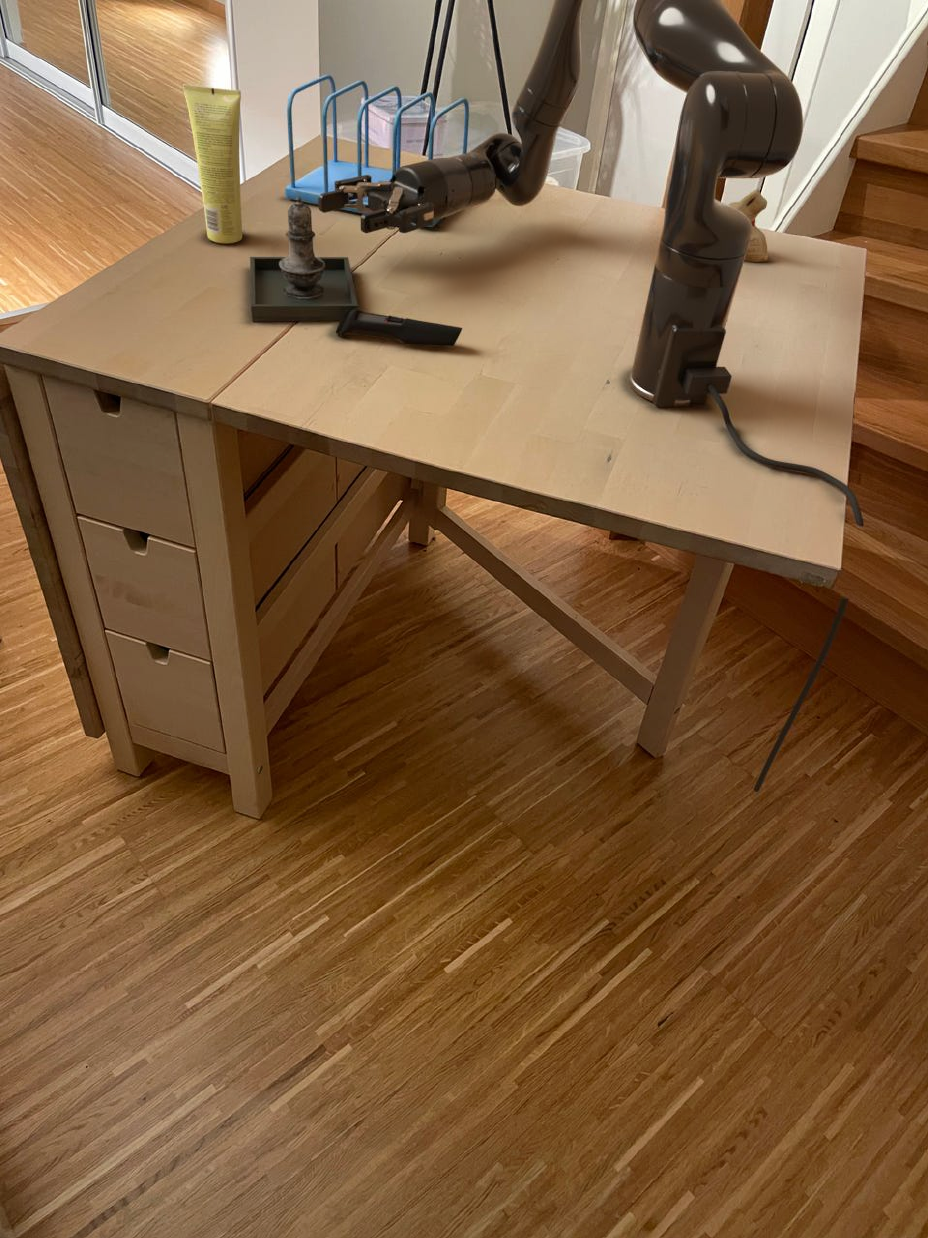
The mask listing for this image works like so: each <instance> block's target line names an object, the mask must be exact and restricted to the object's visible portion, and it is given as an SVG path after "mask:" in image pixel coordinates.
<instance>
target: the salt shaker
mask: <svg viewBox="0 0 928 1238" xmlns="http://www.w3.org/2000/svg"><path fill="white" fill-rule="evenodd" d="M301 200H302V199H301V197H300V196H298V197H297V199H296V200H295V201H296V202H294V203H292V204H291V205H289V207H288V209H287V217H288V218H287V219H288V220H287V221H288V230H287V231H286V232H285V235H286V237H287V238H288V249H289V250H288V255H287V256H284V257H285V258H283V259H282V260H281V261H280V262H279V266H280V268H281V269H282V273H283V275H284V277H285V279H286V280H287V281H288V282H289V283H288V284H287V285H285V287H284V288H283V292H284V294H285V295H287V296H289V297H291V298H295V299H313V298H317V297H319V296H321V295H322V294H323V291H324V290H323V288H322V287H321V286H320V285H319V284H317V282H318V281H319V280H320V279H321V276H322V273H323V269H324V268H325V263H324V261H323V260H321V259H320V258H318V257H319V256H316V255H315V250H314V238H315V237H316V232H314V231H313V222H312V221H313V220H312V209H311V207H310V206H309V205H308V204H306V203H305V202H303V201H301Z"/></svg>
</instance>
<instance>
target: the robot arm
mask: <svg viewBox="0 0 928 1238" xmlns="http://www.w3.org/2000/svg"><path fill="white" fill-rule="evenodd" d="M584 2H585V0H554V1H553V4H552V6H551V11H550V14H549V17H548V20H547V23H546V27H545V30H544V34H543V36H542V40H541V42H540V45H539V48H538V50H537V53H536V56H535V58H534V60H533V63H532V66H531V68H530V69H529V72H528V74H527V76H526V79H525V81H524V83H523V85H522V88H521V90H520V92H519V94H518V96H517V98H516V100H515V103H514V106H513V109H512V111H511V122H512V124H513V126H514V128H515V131H517V134H518V135H519V139H520V140H521V141H520V140H519V139H518V138H516V136H514V135H512V134H510V133H506V132H497V133H493V134H492V135H490V136H489V137H488V138H486V139H485V140H484V141H483V142H482V143H479V145H477V146H476V147H474V148H472V149H471V150H470V151H467V153H466V154H463V153H462V154H458V155H454V156H449V157H448V156H447V157H437V158H433V159H431V160H428V159H427V160H423V161H419V162H415V163H411V164H406V165H402V166H400V168H399V169H397V168H396V169H397V170H396V171H395V173H394V174H393V176H392V178H391V179H390V181H379V182H378V183H372V177H371V176H370V175H364V176H359V177H354V178H349V179H344V180H339V181H335V191H331V192H327V193H323V194H320V195H319V197H318V202H319V205H318V210H319V212H321V213H323V214H325V213H329V212H334V211H338V210H342V209H341V208H345V207H347V208H357V209H358V211H360V212H369V213H366V214H363V213H362V214H361V216H360V231H361V232H362V233H364V234H370V233H373V232H377V231H380V230H383V229H386V230H389V231H393V230H396V228H397V229H398V233H401V234H408V233H410V232H414V231H416V230H419V229H422V228H425V227H427V226H428V225H431V224H433V220H436V219H440V218H442V219H443V218H446V217H450V216H453V215H454V214H456V213H459V212H460V211H464V210H467V209H468V210H469V209H472V208H474V207H478V206H480V205H483V204H485V203H488V201H490V200H491V199H492V198H493V196H494V194H495V192H496V191H497V192H498V193H499V194H500V195H501V196H502V197H503V198H504V199H505V200H506V202H508V203H509V204H511V205H512V206H515V207H523V206H527V205H528V204H530V203H532V202H533V201H534V200H535V199H536V198H537V197H538V196H539V195H540V193H541V191H542V190H543V187H544V186H545V183H546V181H547V177H548V174H549V170H550V164H551V160H552V156H553V152H554V148H555V143H556V139H557V138H556V137H557V134H558V131H559V129H560V127H561V125H562V123H563V121H564V119H565V117H566V115H567V113H568V111H569V109H570V107H571V105H572V103H573V101H574V99H575V97H576V94H577V92H578V88H579V85H580V81H581V75H582V43H581V25H582V23H581V21H582V11H583V6H584ZM632 27H633V32H634V35H635V38H636V41H637V44H638V46H639V48H640V50H641V52H642V53H643V55H644V56H645V59H646V60H647V62H648V64H649V65H650V67H651V68H652V69H653V70H654V72H655V73H656V74H657V75H658V77H660V78H661V79H662V80H664V81H665V82H667V83H668V84H670V85H671V86H673V87H674V88H676V89H678V90H680V91H682V92H683V93H685V98H684V101H683V102H682V107H681V111H680V115H679V120H678V126H677V129H676V130H677V131H676V132H677V133H676V137H675V142H674V149H673V157H672V161H671V168H670V169H671V170H670V175H669V180H668V184H667V190H666V195H665V203H664V204H665V205H664V217H663V219H664V220H663V225H662V231H661V235H660V240H659V243H658V249H657V253H656V257H655V263H654V266H653V270H652V271H653V272H652V276H651V281H650V285H649V289H648V294H647V298H646V303H645V308H644V313H643V317H642V321H641V326H640V331H639V334H638V340H637V344H636V350H635V354H634V358H633V359H634V360H633V364H632V368H631V370H630V373H629V378H628V383H629V386H630V388H631V389H632V390H633V392H635V393H636V394H637V395H638V396H640V397H642V398H644V399H646V400H648V401H650V402H652V403H653V405H654V406H655V407H657V408H662V407H664V408H665V407H666V408H667V407H668V408H669V407H699V406H706V405H707V404H706V403H707V400H708V396H709V395H711V396H712V398H713V399H714V400H715V402H716V404H717V406H718V407H719V409H720V411H721V415H722V418H723V422H724V424H725V427H726V429H727V431H728V432H729V434H730V436H731V438H732V440H733V441H734V442H735V445H736V446H737V448H738V449H739V450H740V451H741V452H742V453H743V454H744V455H746V456H748V457H749V458H751V459H752V460H754V461H757V462H758V463H760V464H763V465H766V466H769V467H773V468H777V469H780V470H781V469H782V470H787V471H788V470H789V471H795V472H800V473H805V474H809V475H813V476H815V477H818V478H820V479H822V480H824V481H825V482H827V483H829V484H830V485H832V486H834V487H836V488H837V489H838V490H840V491H841V492H842V493H843V494H844V495H845V496H846V498H847V500H848V501H849V504H850V506H851V509H852V513H853V516H854V520H855V524H856V525H857V526H859V527H864V526H865V523H864V518H863V514H862V511H861V508H860V507H861V506H860V505H859V502H858V500H857V497H856V496H855V493H854V492H853V491H852V489H851V488H850V487H849V486H848V485H847V484H845V483H844V482H843V481H841V480H839V479H838V478H836V477H834V476H833V475H830V474H829V473H827V472H825V471H823V470H821V469H818V468H816V467H812V466H808V465H803V464H798V463H793V462H792V463H791V462H786V461H780V460H775V459H772V458H768V457H766V456H764V455H761V454H759V453H758V452H756V451H754V450H753V449H751V448H749V447H748V446H747V445H746V444H745V443H744V441H742V439H741V438H740V436H739V434H738V432H737V431H736V429H735V426H734V425H733V422H732V420H731V416H730V412H729V409H728V408H727V405H726V402H724V400H723V398H722V396H721V395H727V393H728V392H729V391H728V390H729V387H730V384H731V381H732V378H733V377H732V376H733V375H732V374H731V373H730V371H729V370H728V369H727V367H726V366H717V365H718V362H719V358H720V354H721V351H722V348H723V344H724V340H725V337H726V333H727V330H726V325H727V322H728V318H729V315H730V312H731V308H732V306H733V305H732V304H733V301H734V297H735V294H736V290H737V286H738V283H739V280H740V277H741V273H742V270H743V266H744V263H745V261H744V259H745V256H746V252H747V249H748V246H749V242H750V239H751V235H752V223H751V221H750V220H749V218H748V217H747V216H746V215H745V214H743V213H742V212H740V211H739V210H737V209H735V208H733V207H731V206H729V204H727V203H725V202H722V201H720V200H717V199H716V191H717V190H716V189H717V183H718V179H759V178H765V177H770V176H773V175H775V174H778V173H779V172H781V171H782V170H784V169H785V168H786V167H787V166H789V164H790V163H791V162H792V160H793V159H794V158H795V156H796V155H797V152H798V150H799V147H800V145H801V143H802V142H801V141H802V137H803V132H804V116H803V115H804V114H803V107H802V102H801V98H800V96H799V93H798V91H797V88H796V86H795V84H794V83H793V81H792V79H790V77H788V75H787V74H786V73H785V72H784V71H782V70H781V68H779V67H778V66H777V64H775V63H774V62H773V61H772V60H771V59H770V58H769V57H768V56H766V54H765V53H764V52H762V51H761V50H760V49H759V48H758V46H756V44H755V43H754V42H753V41H752V40H751V38H750V37H749V36H748V35H747V33H746V32H745V31H744V29H743V28H742V27H741V26H740V24H739V23H738V21H737V20H736V19H735V17H734V16H733V15H732V14H731V13H730V11H729V10H728V9H727V6H726V5H725V3H724V1H723V0H636V1H635V4H634V9H633V13H632ZM367 197H368V205H365V204H364V203H363V198H367ZM355 199H357V200H356V201H350V200H355ZM849 600H850V598H849V597H848V598H842V599H840V602H839V605H838V608H837V611H836V613H835V616H834V619H833V621H832V624H831V627H830V629H829V632H828V635H827V636H826V639H825V642H824V644H823V646H822V649H821V650H820V653H819V655H818V657H817V659H816V661H815V664H814V665H813V668H812V670H811V672H810V674H809V676H808V678H807V680H806V682H805V684H804V685H803V688H802V690H801V692H800V695H798V698H797V700H796V702H795V704H794V706H793V708H792V710H791V712H790V713H789V716H788V717H787V719H786V721H785V724H784V725H783V727H782V729H781V731H780V733H779V735H778V737H777V739H776V741H775V743H774V744H773V747H772V749H771V751H770V753H769V755H768V757H767V760H766V762H765V763H764V765H763V768H762V770H761V772H760V774H759V776H758V778H757V780H756V782H755V785H754V787H753V791H754V792H755V793H759V792H760V790H761V788H762V786H763V784H764V781H765V779H766V777H767V774H768V772H769V770H770V768H771V767H772V765H773V762H774V760H775V758H776V756H777V754H778V752H779V751H780V748H781V747H782V744H783V742H784V741H785V739H786V736H787V735H788V733H789V731H790V729H791V727H792V725H793V724H794V721H795V720H796V717H797V716H798V713H799V712H800V710H801V708H802V706H803V704H804V702H805V700H806V698H807V697H808V694H809V693H810V692H811V691H810V690H811V688H812V686H813V684H814V683H815V681H816V678H817V676H818V674H819V673H820V671H821V668H822V666H823V664H824V662H825V660H826V658H827V656H828V654H829V651H830V649H831V646H832V644H833V641H834V640H835V638H836V635H837V633H838V630H839V628H840V624H841V622H842V619H843V617H844V614H845V611H846V609H847V605H848V602H849Z"/></svg>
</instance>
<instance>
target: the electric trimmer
mask: <svg viewBox="0 0 928 1238" xmlns="http://www.w3.org/2000/svg"><path fill="white" fill-rule="evenodd" d="M462 331H463V328H462V327H459V326H454V325H448V324H442V323H436V322H430V321H424V320H419V319H412V318H407V317H406V318H404V317H397V316H393V315H390V314H389V315H386V314H385V315H383V314H378V313H373V312H372V313H371V312H365V311H362V310H360V309H359V308H358V309H357V308H356V309H354V310H352V311H350V310H348V309H347V311H346V312H345V314H344V316H343V317H342V319H341V321H339V323H338V325H337V327H336V330H335V335H339V336H340V337H341V338H344V337H345V335H347V334H351V335H358V336H364V337H365V336H366V337H373V338H380V339H387V340H388V339H389V340H395V341H399V342H400V343H402V344H404V345H410V346H411V345H413V346H432V347H454V346H455V345H456V343H457V341H458V339H459V337H460V335H461V334H462Z"/></svg>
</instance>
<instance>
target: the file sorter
mask: <svg viewBox="0 0 928 1238" xmlns="http://www.w3.org/2000/svg"><path fill="white" fill-rule="evenodd" d="M326 80H328V81H329V82H330V85H331V94H329V95H328V96H327V97H326V98H325V101H324V104H323V108H322V116H321V117H322V119H321V124H322V127H321V129H322V156H323V157H322V159H323V161H322V163H323V164H322V165H321V166H318V167H317V168H315V169H314V170H311V172H308V173H307V174H305V175H304V176H302V177H300V178H298V179H297V180H296V172H295V153H294V136H293V133H294V132H293V118H292V117H293V116H292V107H293V102H294V98H295V96H296V95H297V94H298V93H301V92H302V91H304V90H306V89H308V88H310V87H313V86H315V85H317V84H319V83H322V82H324V81H326ZM360 86H362V88H363V92H364V101H363V102H362V103H361V105H360V107H359V111H358V113H357V124H356V132H357V133H356V139H357V140H356V142H357V143H356V144H357V145H356V146H357V147H356V149H357V150H356V151H357V152H356V153H357V154H356V155H357V159H356V160H357V162H352V161H346V160H345V161H344V160H341V159H338V121H337V120H338V119H337V98H338V97H340V96H342V95H344V94H345V93H347V92H349V91H352V90H353V89H356V88H358V87H360ZM393 92H395V93H396V97H397V112H396V114H395V117H394V121H393V126H392V127H393V128H392V163H391V165H392V166H391V169H388V168H383V167H378V166H372V165H370V164H369V160H370V159H369V156H370V155H369V148H370V147H369V146H370V144H369V143H370V141H369V140H370V139H369V138H370V137H369V135H370V134H369V132H370V131H369V129H370V128H369V127H370V126H369V119H370V118H369V117H370V114H369V113H370V111H369V110H370V109H369V108H370V106H369V105H370V104H372V103H374V102H376V101H378V100H380V99H381V98H383V97H385V96H387V95H388V94H391V93H393ZM427 98H429V99H430V125H429V127H430V128H429V136H428V153H427V156H428V157H427V160H431V159H434V148H435V147H434V145H435V130H436V129H435V128H436V125H437V122H438V120H439V119H440V118H442V117H443V116H445V115H446V114H447V113H449V112H451V111H452V110H453V109H455V108H457V107H458V106H460V105H462V104H463V105H464V123H463V124H464V125H463V128H464V129H463V142H462V154H466V153H468V137H469V123H470V122H469V119H470V106H469V105H470V104H469V101H468V99H467V98H465V97H460V98H459V99H458V100H456V101H454V102H453V103H451V104H449V105H448V106H446V107H445V108H443V109H442V110H440V111H439V112H437V113H436V100H435V95H434V94H433V92H431V91H427V92H425V93H423V94H421V95H419V96H417V97H415V98H413V100H411V101H409V102H408V103H406V104H404V105H402V103H403V101H402V100H403V99H402V93H401V89H400V87H399V86H397V85H393V86H391V87H388V88H386V89H384V90H383V91H381V92H379V93H377V94H375V95H373V96H371V97H369V88H368V85H367V82H366V81H364V80H357V81H355V82H353V83H351V84H349V85H347V86H344V87H343V88H341V89H338V90H337V91H336V83H335V80H334V77H333V76H331V75H330V74H324V75H321V76H320V77H316V78H314V79H312V80H310V81H308V82H305V83H304V84H301V85H299V86H297V87H295V88H293V90H291V91H290V94H289V96H288V99H287V107H286V117H287V118H286V119H287V137H288V156H289V175H290V184H289V185H287V186H285V198H286V199H288V200H293V201H297V200H296V199H297V197H298V196H300V197H301V199H302V200H301V202H302V203H308V204H313V205H318V206H319V202H318V197H319V195H320V194H323V193H327V192H331V191H335V181H339V180H344V179H349V178H354V177H359V176H364V175H370V176H371V177H372V183H378V182H379V181H390V179H391V178H392V176H393V174H394V173H395V171H396V170H397V169H399V168H400V167H401V157H402V155H401V154H402V153H401V152H402V149H401V148H402V115H403V113H404V112H405V111H407V110H409V109H411V108H412V107H413V106H415V105H417V104H418V103H420V102H422V101H423V100H425V99H427ZM331 102H332V103H331ZM330 103H331V107H332V109H331V110H332V137H333V139H332V141H333V142H332V143H333V159H330V160H329V161H328V127H327V126H328V124H327V123H328V122H327V119H328V109H329V105H330ZM363 116H364V164H362V163H363V160H362V159H363V152H362V149H363V148H362V137H363V135H362V133H363V131H362V129H363V128H362V127H363V123H362V122H363ZM356 200H357V199H355V200H350V201H356ZM363 203H364V204H365V205H368V197H367V198H363ZM340 210H344V211H348V212H353V213H358V214H362V215H363V214H366V213H369V212H360V211H358V209H357V208H347V207H345V208H341V209H340ZM442 219H443V218H440V219H436V220H433V224H431V225H428V226H426V227H429V228H434V227H435V225H436V224H438V223H439V222H440V221H441V220H442Z"/></svg>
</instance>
